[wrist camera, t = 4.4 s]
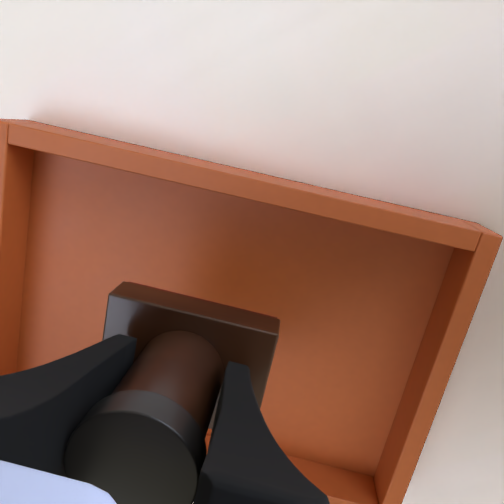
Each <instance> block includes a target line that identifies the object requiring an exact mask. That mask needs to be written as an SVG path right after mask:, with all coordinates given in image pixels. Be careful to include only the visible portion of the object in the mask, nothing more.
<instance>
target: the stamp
mask: <svg viewBox="0 0 504 504" xmlns="http://www.w3.org/2000/svg"><path fill="white" fill-rule="evenodd" d="M279 330H280V319H278V318H277V317H274V316H270V315H266V314H262V313H257V312H253V311H249V310H245V309H241V308H237V307H233V306H229V305H225V304H220V303H216V302H212V301H208V300H204V299H200V298H196V297H192V296H188V295H183V294H179V293H175V292H171V291H167V290H163V289H159V288H155V287H151V286H146V285H142V284H138V283H134V282H130V281H128V282H125V281H123V282H122V283H121V284H119V285H118V286H117V287H116V288H115V289H113V290H112V291H111V292H110V293H109V294H108V301H107V308H106V316H105V323H104V330H103V338H102V341H103V340H105V339H107V338H110V337H112V336H114V335H117V334H122V335H126V336H130V337H134V338H137V342H136V349H135V355H134V361H133V365H132V366H131V367H130V369H129V370H128V371H127V373H126V374H125V376H124V377H123V378H122V380H121V381H120V383H119V384H118V385H117V387H116V388H115V390H114V391H113V392H112V394H111V395H109V396H107V397H104V398H103V399H101V400H100V401H98V402H97V403H96V404H95V405H94V406H93V407H92V408H91V409H90V410H89V412H88V413H87V414H86V416H85V417H84V418H83V420H82V421H81V422H80V424H79V425H78V426H77V428H76V429H75V430H74V432H73V433H72V435H71V436H70V438H69V440H68V443H67V446H66V450H65V458H64V464H65V471H66V475H67V478H70V479H74V480H78V481H82V482H86V483H90V484H92V485H94V486H96V487H98V488H100V489H102V490H104V491H106V492H108V493H109V494H110V496H111V497H112V498H113V499H114V501H115V502H116V503H117V504H192V503H193V502H194V499H195V494H196V490H197V485H198V481H199V476H200V472H201V469H202V466H203V463H204V461H205V458H206V455H207V449H206V443H205V437H206V434H207V431H208V428H209V429H212V428H213V423H214V419H215V414H216V410H217V405H218V401H219V397H220V392H221V388H222V383H223V379H224V374H225V370H226V367H227V364H228V362H229V361H231V362H235V363H239V364H243V365H247V366H248V367H249V369H250V377H251V382H252V386H253V390H254V394H255V397H256V400H257V403H258V406H259V408H261V404H262V400H263V396H264V392H265V388H266V384H267V381H268V377H269V373H270V369H271V365H272V361H273V357H274V353H275V349H276V345H277V341H278V338H279Z"/></svg>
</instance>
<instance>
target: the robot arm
mask: <svg viewBox="0 0 504 504" xmlns="http://www.w3.org/2000/svg"><path fill="white" fill-rule="evenodd" d="M136 342H137V338H134V337H130V336H126V335H122V334H117V335H114V336H112V337H110V338H107V339H105V340H103V341H101V342H99V343H96V344H94V345H92V346H90V347H87V348H85V349H83V350H80V351H78V352H76V353H73V354H71V355H68V356H65V357H63V358H60V359H58V360H55V361H52V362H50V363H47V364H44V365H41V366H37V367H34V368H31V369H27V370H23V371H20V372H16V373H11V374H6V375H1V376H0V504H117V503H116V502H115V501H114V499H113V498H112V497H111V496H110V494H109V493H108V492H106V491H104V490H102V489H100V488H98V487H96V486H94V485H92V484H90V483H86V482H82V481H78V480H74V479H70V478H67V475H66V471H65V464H64V458H65V450H66V446H67V443H68V440H69V438H70V436H71V435H72V433H73V432H74V430H75V429H76V428H77V426H78V425H79V424H80V422H81V421H82V420H83V418H84V417H85V416H86V414H87V413H88V412H89V410H90V409H91V408H92V407H93V406H94V405H95V404H96V403H97V402H98V401H100V400H101V399H103V398H104V397H107V396H109V395H111V394H112V392H113V391H114V390H115V388H116V387H117V385H118V384H119V383H120V381H121V380H122V378H123V377H124V376H125V374H126V373H127V371H128V370H129V369H130V367H131V366H132V365H133V361H134V355H135V349H136ZM193 504H330V503H329V499H328V497H327V495H326V494H324V493H323V492H322V491H321V490H320V489H319V488H317V487H316V486H315V485H314V484H313V483H312V482H310V481H309V480H308V479H307V478H306V477H305V476H304V475H303V474H302V473H301V472H300V471H299V470H298V469H297V468H296V467H295V466H294V464H293V463H292V462H291V461H290V460H289V459H288V457H287V456H286V455H285V453H284V452H283V451H282V449H281V448H280V447H279V445H278V444H277V442H276V441H275V439H274V437H273V435H272V434H271V432H270V430H269V428H268V426H267V424H266V422H265V420H264V418H263V415H262V413H261V411H260V408H259V406H258V403H257V400H256V397H255V394H254V390H253V386H252V382H251V377H250V369H249V367H248V366H247V365H243V364H239V363H235V362H231V361H229V362H228V364H227V367H226V370H225V374H224V379H223V383H222V388H221V392H220V397H219V401H218V405H217V410H216V414H215V419H214V423H213V428H212V432H211V437H210V441H209V446H208V452H207V455H206V458H205V461H204V463H203V466H202V469H201V472H200V476H199V481H198V485H197V490H196V494H195V499H194V503H193Z"/></svg>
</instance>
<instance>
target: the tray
mask: <svg viewBox="0 0 504 504" xmlns="http://www.w3.org/2000/svg"><path fill="white" fill-rule="evenodd" d="M502 239H503V237H502V236H501V235H499V234H497V233H495V232H493V231H491V230H489V229H487V228H485V227H483V226H481V225H480V224H478V223H475V222H470V221H466V220H462V219H457V218H453V217H448V216H444V215H440V214H435V213H431V212H427V211H422V210H418V209H414V208H409V207H405V206H400V205H396V204H392V203H387V202H383V201H379V200H374V199H370V198H366V197H361V196H357V195H353V194H348V193H344V192H339V191H335V190H331V189H326V188H322V187H318V186H313V185H309V184H305V183H300V182H296V181H291V180H287V179H283V178H278V177H274V176H270V175H265V174H261V173H257V172H252V171H248V170H244V169H239V168H235V167H230V166H226V165H222V164H217V163H213V162H209V161H204V160H200V159H196V158H191V157H187V156H182V155H178V154H174V153H169V152H165V151H161V150H156V149H152V148H148V147H143V146H139V145H134V144H130V143H126V142H121V141H117V140H113V139H108V138H104V137H100V136H95V135H91V134H87V133H82V132H78V131H73V130H69V129H65V128H60V127H56V126H52V125H47V124H43V123H39V122H34V121H30V120H16V119H0V376H1V375H6V374H11V373H16V372H20V371H23V370H27V369H31V368H34V367H37V366H41V365H44V364H47V363H50V362H52V361H55V360H58V359H60V358H63V357H65V356H68V355H71V354H73V353H76V352H78V351H80V350H83V349H85V348H87V347H90V346H92V345H94V344H96V343H99V342H101V341H102V338H103V330H104V323H105V316H106V308H107V301H108V294H109V293H110V292H111V291H112V290H113V289H115V288H116V287H117V286H118V285H119V284H121V283H122V282H123V281H125V282H128V281H130V282H134V283H138V284H142V285H146V286H151V287H155V288H159V289H163V290H167V291H171V292H175V293H179V294H183V295H188V296H192V297H196V298H200V299H204V300H208V301H212V302H216V303H220V304H225V305H229V306H233V307H237V308H241V309H245V310H249V311H253V312H257V313H262V314H266V315H270V316H274V317H277V318H278V319H280V330H279V338H278V341H277V345H276V349H275V353H274V357H273V361H272V365H271V369H270V373H269V377H268V381H267V384H266V388H265V392H264V396H263V400H262V404H261V408H260V411H261V413H262V415H263V418H264V420H265V422H266V424H267V426H268V428H269V430H270V432H271V434H272V435H273V437H274V439H275V441H276V442H277V444H278V445H279V447H280V448H281V449H282V451H283V452H284V453H285V455H286V456H287V457H288V459H289V460H290V461H291V462H292V463H293V464H294V466H295V467H296V468H297V469H298V470H299V471H300V472H301V473H302V474H303V475H304V476H305V477H306V478H307V479H308V480H309V481H310V482H312V483H313V484H314V485H315V486H316V487H317V488H319V489H320V490H321V491H322V492H323V493H324V494H326V495H327V497H328V499H329V503H330V504H402V501H403V498H404V496H405V493H406V491H407V488H408V485H409V483H410V480H411V477H412V475H413V472H414V470H415V467H416V464H417V462H418V459H419V456H420V454H421V451H422V449H423V446H424V443H425V441H426V438H427V436H428V433H429V430H430V428H431V425H432V422H433V420H434V417H435V415H436V412H437V409H438V407H439V404H440V401H441V399H442V396H443V394H444V391H445V388H446V386H447V383H448V380H449V378H450V375H451V373H452V370H453V367H454V365H455V362H456V359H457V357H458V354H459V352H460V349H461V346H462V344H463V341H464V338H465V336H466V333H467V331H468V328H469V325H470V323H471V320H472V317H473V315H474V312H475V310H476V307H477V304H478V302H479V299H480V296H481V294H482V291H483V289H484V286H485V283H486V281H487V278H488V276H489V273H490V270H491V268H492V265H493V262H494V260H495V257H496V255H497V252H498V249H499V247H500V244H501V241H502ZM211 432H212V429H209V428H208V431H207V434H206V437H205V443H206V449H207V452H208V446H209V441H210V437H211Z"/></svg>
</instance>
